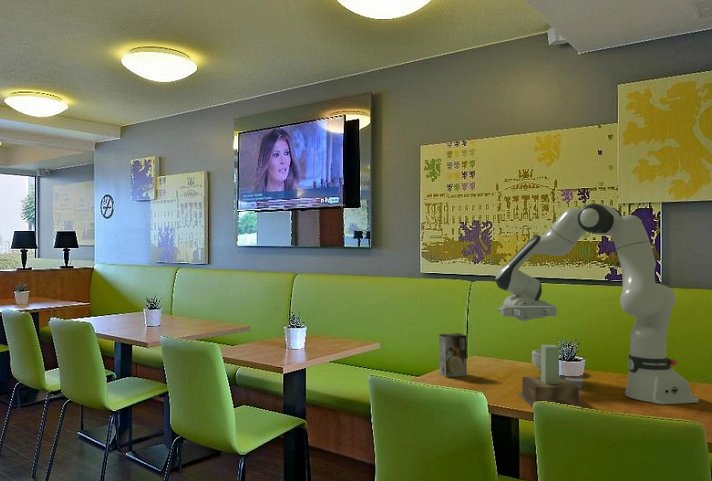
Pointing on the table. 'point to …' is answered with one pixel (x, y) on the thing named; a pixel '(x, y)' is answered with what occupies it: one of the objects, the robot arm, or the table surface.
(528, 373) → the table surface
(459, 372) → the coffee box
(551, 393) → the base
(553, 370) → the pillar
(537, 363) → the paper bowls
